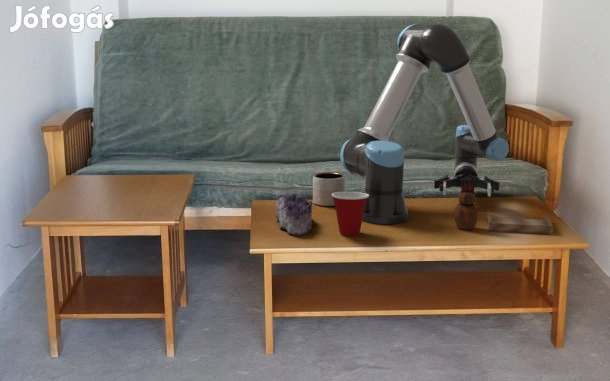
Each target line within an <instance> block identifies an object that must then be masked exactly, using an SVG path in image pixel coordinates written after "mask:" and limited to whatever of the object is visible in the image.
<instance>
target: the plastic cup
mask: <svg viewBox="0 0 610 381" xmlns="http://www.w3.org/2000/svg"><path fill="white" fill-rule="evenodd" d="M332 197H333V199H334V204H335V206H334V207H335V208H334V209H335V213H336V220H337V223H338V231H339V234H340V235H341V236H344V237H356V236H359V235H360V233H361V228H362V224H363V214H364V209H365V205H366V201H367V198H368V197H369V194H366V193H364V192H360V191H345V192H336V193H333V194H332Z"/></svg>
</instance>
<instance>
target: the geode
mask: <svg viewBox="0 0 610 381" xmlns="http://www.w3.org/2000/svg"><path fill="white" fill-rule="evenodd" d="M275 209H276V210H275V215H274V216H275V219H277V220H278V224H279V229H283V230H285V231H286V232H287V234H288V235H289V236H295V237H302V236H305V235H306V234H307V235H308V234H309V233H311V231H312V227H313V226H312V221H313V219H312V217H313V216H312V212H313V200H310V201H309V199H306V198H304V197H303V196H302V195H298V194H295V193H294V194H290V195H287V196H286V197H285V196H283V197H279V198H278V200H277V202H276V204H275Z"/></svg>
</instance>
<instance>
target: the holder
mask: <svg viewBox="0 0 610 381" xmlns="http://www.w3.org/2000/svg"><path fill="white" fill-rule="evenodd" d="M486 215H487V218H486V221H487V225H488V232H497V233H500V232H501V233H521V234H535V235H536V234H539V235H553V233H554V232H553V230H554V225H553V224H552V221H551V219H550V217H549V215H548V213H544V214H543V216H544V217H543V219H536V218H535V219H533V218H509V217H492V213H491V211H490V210H487V214H486Z"/></svg>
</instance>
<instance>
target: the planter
mask: <svg viewBox="0 0 610 381" xmlns="http://www.w3.org/2000/svg"><path fill="white" fill-rule="evenodd" d="M345 177H346V175H345V174H344V173H340V172H334V171H333V172H332V171H330V172H329V171H328V172H325V171H324V172H318V173H314V174H313V175H312V203H314V204H315V205H316V204H317V205H316V206H319V205H320V207H327V206H331V207H335V204H334V199H333V197H332V194H333V193H336V192H346V189H345V188H346V178H345Z"/></svg>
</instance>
